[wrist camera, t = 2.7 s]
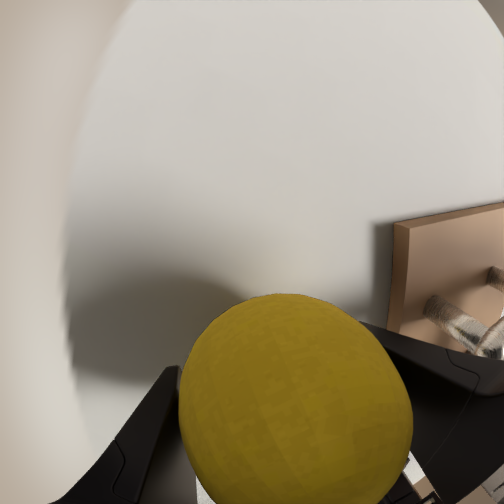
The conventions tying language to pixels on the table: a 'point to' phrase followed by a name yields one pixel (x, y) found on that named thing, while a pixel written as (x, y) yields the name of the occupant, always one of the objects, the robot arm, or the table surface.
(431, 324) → the walnut board
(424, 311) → the bent wire
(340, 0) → the table surface
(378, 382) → the lemon
